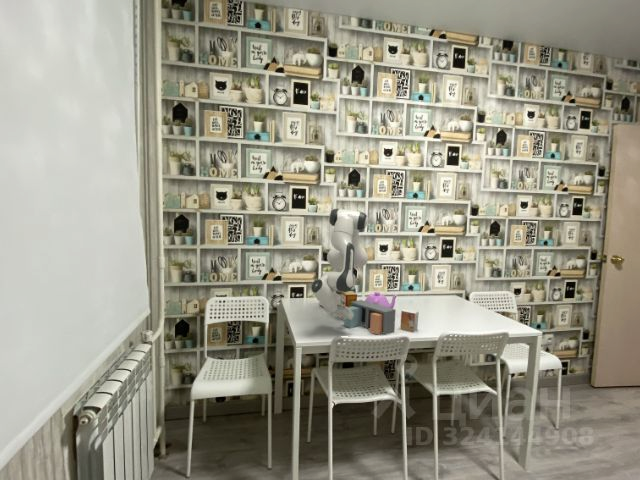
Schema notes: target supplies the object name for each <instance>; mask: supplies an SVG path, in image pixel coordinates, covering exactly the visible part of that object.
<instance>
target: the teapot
mask: <svg viewBox="0 0 640 480" xmlns="http://www.w3.org/2000/svg"><path fill="white" fill-rule="evenodd" d="M398 296H399V294H394V295H393V296H392V299H391V302H390V301H389V299H388V298H387V297H386V295H384V294H381V292H380V291H375V292H374V293H370V294H368V295H367V296H366V299H365V300H364V301H367V302H370V303H374V304H377V305H381V306H385V307H388V308H392V309H395V304H396V298H397V297H398Z"/></svg>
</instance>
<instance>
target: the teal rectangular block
mask: <svg viewBox="0 0 640 480" xmlns="http://www.w3.org/2000/svg"><path fill="white" fill-rule="evenodd" d="M348 308H349V309H350V310H351V311H352V312H353V313H354V317H353V318H352V319H351V320H349V319H346V320H343V326H344V327H346V328H349V329H352V328H355V327H359V326H361V325H362V323H363V322H362V307H359V306H351V307H348Z"/></svg>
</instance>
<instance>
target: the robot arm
mask: <svg viewBox="0 0 640 480" xmlns="http://www.w3.org/2000/svg"><path fill="white" fill-rule="evenodd" d="M328 221H329V224H330V226H332V227H333V229H332V232H331V236H330V243H331V245H332V247H333V249H330V250H329V251H328V252H327V255H326V259H327V260H326V261H327V262H328V264H329V265H330V266H331V267H333V268H334V270H335V271H324V272H323V273H322V274H321V276H320V278H318V279H316V280H314V281H313V282H312V284H311V287H310V288H311V293H312V294H313V295H314V297H315V299H316V300H317V301H318V304H317V305H318V306H319V308H321V309H322V310H323V311H324V312H326V313H329V314H332V315H335V316H338V318H340V319H341V320H343V319H344V320H346V319H349V320H351V319H352V318H353V317H354V313H353V312H352V311H351V310H350V309H349V308H348V307H346V306H343V305H341V291H342V292H348V291H353V292H354V293H355V294H357V289H356V275H355V273H354V267H355V268H356V267H363V266H365V265H367V263H368V261H369V255H368V253H367V251H366V250H364V249H363V248H362V247H361V245H360V242H359V233H360V231H363V230H365V229H366V227H367V226H368V223H369V221H368V215H367V214H366V212H363V211H356V210H352V209H344V208H343V209H342V208H333V209H332V210H331V212H330V214H329V216H328ZM344 320H343V321H344Z"/></svg>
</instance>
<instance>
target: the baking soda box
mask: <svg viewBox="0 0 640 480" xmlns="http://www.w3.org/2000/svg"><path fill="white" fill-rule="evenodd" d="M357 298H358V294H357V293H356V294H355V293H354V292H353V291H348V292H342V291H341V305H343V306H346V307H351V302H353V301H358V300H357ZM342 320H343V321H344V319H342Z"/></svg>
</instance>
